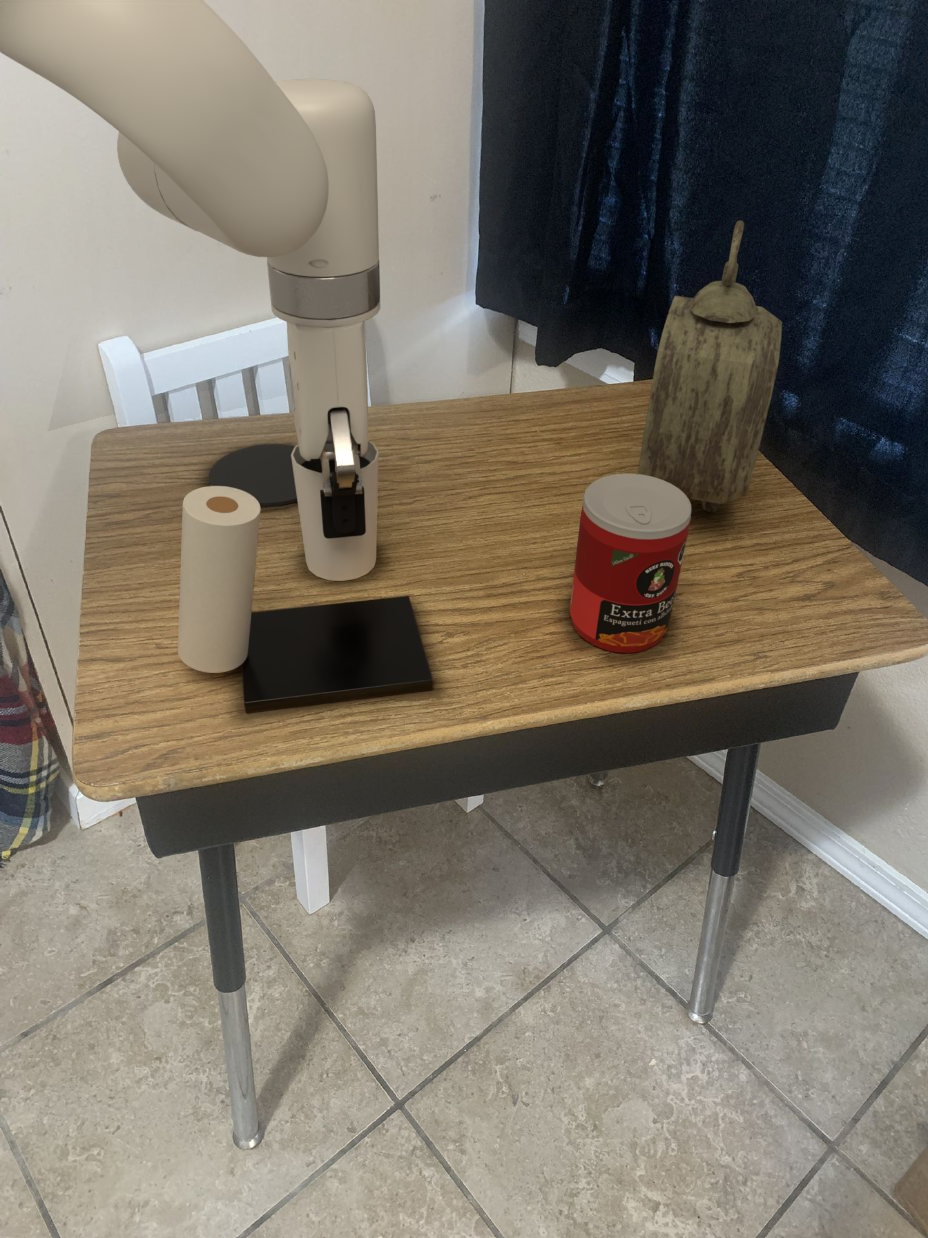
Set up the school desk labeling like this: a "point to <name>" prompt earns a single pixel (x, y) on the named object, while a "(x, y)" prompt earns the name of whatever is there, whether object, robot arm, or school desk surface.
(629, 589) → the canned food
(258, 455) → the coaster
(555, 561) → the school desk surface
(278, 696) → the thin black tile
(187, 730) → the school desk surface
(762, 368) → the wooden cowbell
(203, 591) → the towel roll
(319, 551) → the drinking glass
